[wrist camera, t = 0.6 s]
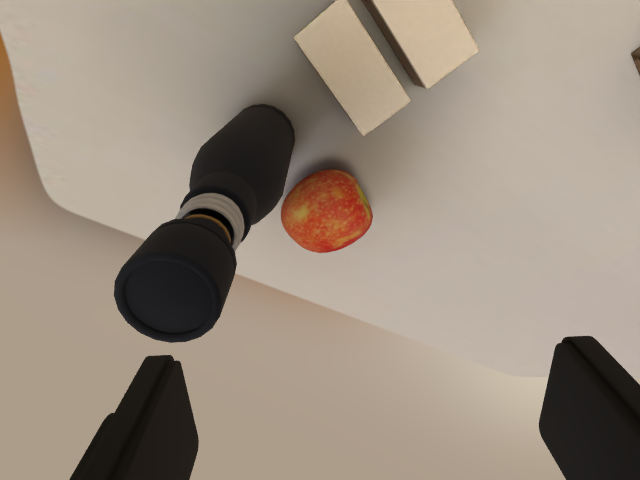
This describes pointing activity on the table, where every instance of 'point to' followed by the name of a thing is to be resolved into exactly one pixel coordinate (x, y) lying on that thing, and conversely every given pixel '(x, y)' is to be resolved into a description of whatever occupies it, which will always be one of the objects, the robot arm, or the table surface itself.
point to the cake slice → (424, 36)
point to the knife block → (637, 58)
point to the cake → (352, 66)
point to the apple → (326, 211)
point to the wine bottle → (207, 229)
